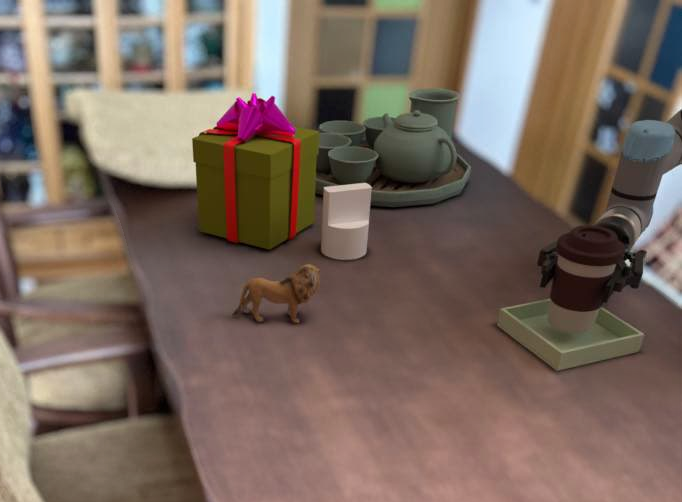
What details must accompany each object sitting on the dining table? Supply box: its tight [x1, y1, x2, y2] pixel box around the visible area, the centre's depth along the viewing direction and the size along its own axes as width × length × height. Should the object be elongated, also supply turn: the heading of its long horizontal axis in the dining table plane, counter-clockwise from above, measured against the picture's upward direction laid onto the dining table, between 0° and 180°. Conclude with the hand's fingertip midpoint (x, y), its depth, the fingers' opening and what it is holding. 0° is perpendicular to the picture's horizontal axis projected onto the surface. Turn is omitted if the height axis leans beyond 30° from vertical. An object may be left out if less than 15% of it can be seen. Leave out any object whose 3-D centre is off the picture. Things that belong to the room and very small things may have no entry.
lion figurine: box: [231, 263, 321, 324], centre depth 137 cm, size 15×5×9 cm, turn 94°
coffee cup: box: [547, 224, 625, 334], centre depth 129 cm, size 10×10×15 cm
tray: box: [496, 298, 646, 372], centre depth 134 cm, size 16×16×3 cm
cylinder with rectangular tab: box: [320, 183, 372, 261], centre depth 158 cm, size 9×9×12 cm
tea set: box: [315, 87, 472, 208], centre depth 187 cm, size 40×40×16 cm
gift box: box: [191, 92, 320, 250], centre depth 161 cm, size 21×21×25 cm
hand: (574, 286), depth 125 cm, fingers closed on coffee cup, 9 cm apart
